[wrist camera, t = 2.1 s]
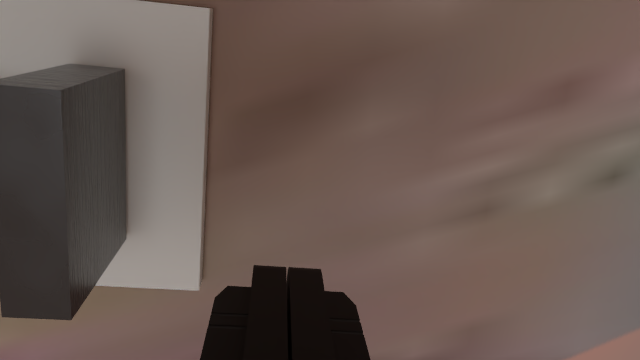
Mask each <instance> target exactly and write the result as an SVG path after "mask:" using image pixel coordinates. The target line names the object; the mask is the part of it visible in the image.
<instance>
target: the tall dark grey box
mask: <svg viewBox="0 0 640 360" xmlns="http://www.w3.org/2000/svg"><path fill="white" fill-rule="evenodd" d="M126 239H127V238H126V127H125V69H122V68H111V67H101V66H90V65H80V64H65V65H60V66H56V67H51V68H47V69H42V70H38V71H33V72H29V73H24V74H19V75H15V76H10V77H6V78H1V79H0V301H1V312H2V317H12V318H35V319H59V320H72V318H73V317H74V315H75V314H76V312H77V311H78V310H79V308H80V307H81V305H82V304H83V302H84V301H85V299H86V298H87V296H88V295H89V293H90V292H91V290H92V289H93V287H94V286H95V285H96V283H97V282H98V280H99V279H100V277H101V276H102V274H103V273H104V271H105V270H106V268H107V267H108V265H109V264H110V262H111V261H112V260H113V258H114V257H115V255H116V254H117V252H118V251H119V249H120V248H121V246H122V245H123V243H124V242H125V240H126Z"/></svg>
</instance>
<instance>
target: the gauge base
mask: <svg viewBox="0 0 640 360" xmlns="http://www.w3.org/2000/svg"><path fill="white" fill-rule="evenodd" d="M212 18H213V9H211V8H203V7H194V6H185V5H176V4H166V3H157V2H148V1H139V0H0V79H1V78H6V77H10V76H15V75H19V74H24V73H29V72H33V71H38V70H42V69H47V68H51V67H56V66H60V65H65V64H80V65H90V66H101V67H111V68H122V69H125V127H126V238H127V239H126V240H125V242H124V243H123V245H122V246H121V248H120V249H119V251H118V252H117V254H116V255H115V257H114V258H113V260H112V261H111V262H110V264H109V265H108V267H107V268H106V270H105V271H104V273H103V274H102V276H101V277H100V279H99V280H98V282H97V283H96V285H95V286H114V287H134V288H154V289H174V290H194V291H199V289H200V285H201V282H202V270H203V245H204V219H205V194H206V169H207V144H208V119H209V94H210V69H211V44H212Z"/></svg>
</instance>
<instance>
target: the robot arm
mask: <svg viewBox="0 0 640 360" xmlns="http://www.w3.org/2000/svg"><path fill="white" fill-rule="evenodd" d="M359 321H360V319H359V315H358V312H357V308H356V305H355V304H354V303H353V302H352V301H351V300H350V299H349V298H348V297H347V296H346V295H345V294H344V293H343V292H330V291H324V285H323V279H322V273H321V269H310V268H293V267H289V268H288V274H287V284H286V267H275V266H258V265H254V268H253V277H252V286H251V287H238V286H227V287H226V288H225V289H224V290H223V291H222V292H221V293H220V294H218V295H217V296H216V297H215V300H214V304H213V308H212V312H211V316H210V321H209V325H208V329H207V333H206V337H205V341H204V345H203V350H202V354H201V358H200V360H370V356H369V353H368V349H367V345H366V341H365V338H364V335H363V330H362V327H361V323H360V322H359Z"/></svg>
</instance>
